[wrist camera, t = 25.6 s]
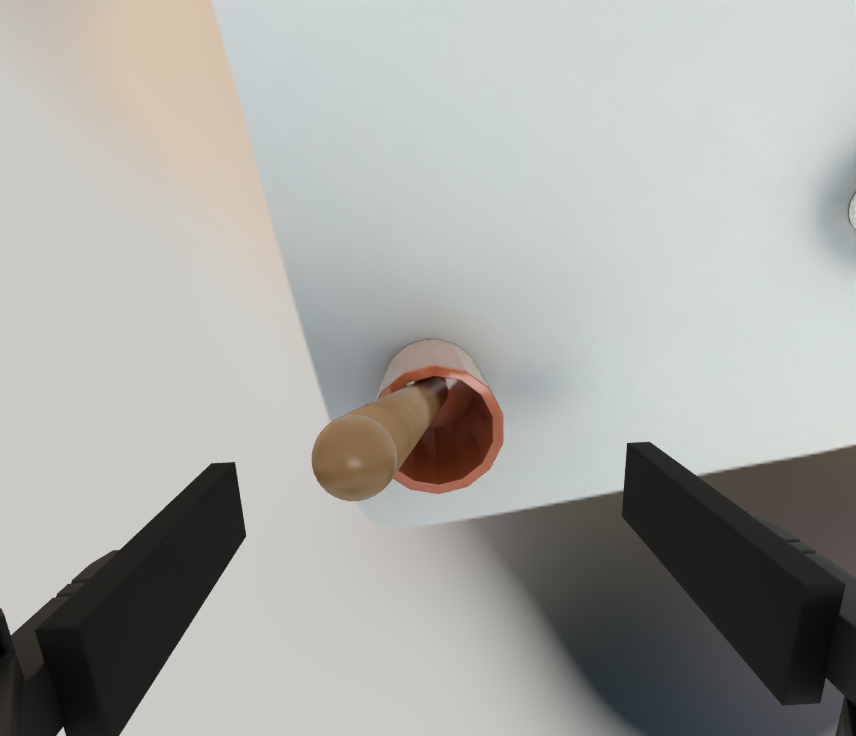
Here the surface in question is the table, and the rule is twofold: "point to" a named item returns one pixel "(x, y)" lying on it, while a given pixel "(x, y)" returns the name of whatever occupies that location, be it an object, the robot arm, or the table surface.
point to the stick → (375, 440)
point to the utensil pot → (447, 418)
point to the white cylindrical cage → (853, 211)
